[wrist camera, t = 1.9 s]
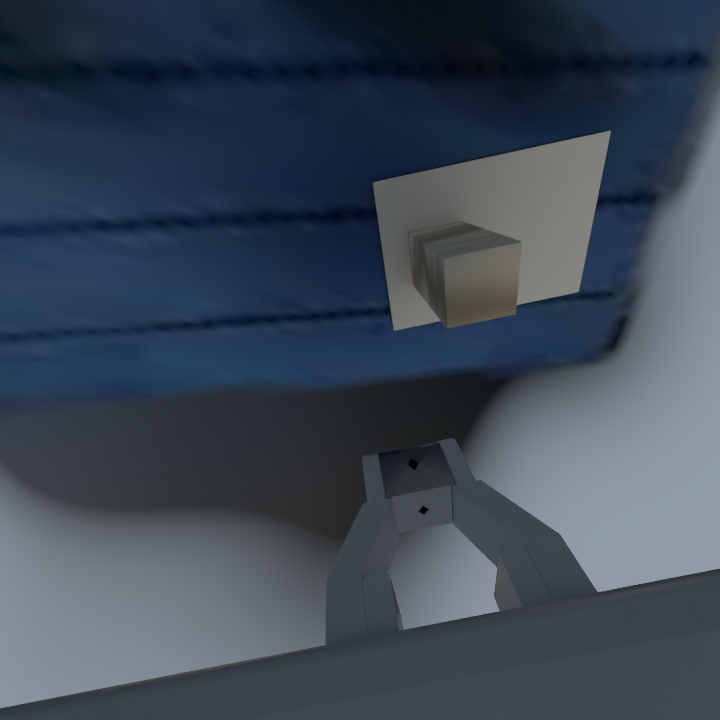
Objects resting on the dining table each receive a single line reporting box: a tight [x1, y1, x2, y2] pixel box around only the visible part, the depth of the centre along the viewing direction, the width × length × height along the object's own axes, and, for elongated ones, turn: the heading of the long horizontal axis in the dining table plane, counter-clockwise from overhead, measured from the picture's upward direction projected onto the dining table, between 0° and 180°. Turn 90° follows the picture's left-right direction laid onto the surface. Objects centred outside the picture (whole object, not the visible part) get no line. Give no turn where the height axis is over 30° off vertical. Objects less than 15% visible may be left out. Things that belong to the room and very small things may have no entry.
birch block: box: [408, 221, 522, 328], centre depth 25 cm, size 5×5×10 cm
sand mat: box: [372, 131, 611, 331], centre depth 29 cm, size 14×20×1 cm
